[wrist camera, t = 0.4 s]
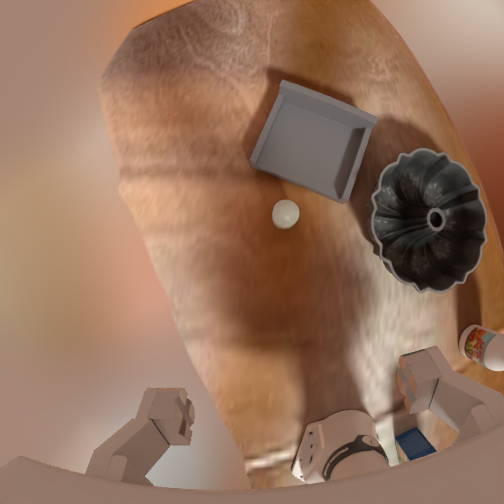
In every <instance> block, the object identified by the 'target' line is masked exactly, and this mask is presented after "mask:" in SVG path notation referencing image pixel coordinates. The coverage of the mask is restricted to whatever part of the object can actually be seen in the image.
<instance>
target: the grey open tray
mask: <svg viewBox="0 0 504 504" xmlns="http://www.w3.org/2000/svg"><path fill="white" fill-rule="evenodd" d="M377 121H378V117H376V116H374V115H371V114H369V113H367V112H365V111H363V110H360V109H358V108H356V107H354V106H351V105H349V104H347V103H344V102H342V101H339V100H337V99H334V98H332V97H329V96H327V95H324V94H322V93H319V92H317V91H314V90H311V89H308V88H306V87H303V86H300V85H297V84H294V83H291V82H289V81H286V80H283V79H282V81H281V83H280V85H279V94H278V96H277V99H276V101H275V103H274V105H273V107H272V110H271V112H270V114H269V116H268V119H267V121H266V123H265V125H264V128H263V130H262V132H261V134H260V137H259V139H258V141H257V144H256V146H255V148H254V150H253V153H252V155H251V157H250V160H249V161H250V165H251V167H252V168H254V169H257V170H260V171H262V172H265V173H268V174H270V175H273V176H275V177H278V178H280V179H283V180H286V181H288V182H291V183H293V184H296V185H298V186H301V187H303V188H305V189H308V190H310V191H313V192H315V193H318V194H320V195H322V196H325V197H327V198H329V199H332V200H334V201H336V202H339V203H341V204H343V203H345V202H346V201H348V200H349V197H350V194H351V191H352V188H353V186H354V183H355V180H356V177H357V174H358V171H359V168H360V165H361V162H362V159H363V156H364V153H365V150H366V147H367V144H368V141H369V137H370V134H371V131H372V129H373V128H374V127H375V126H376V124H377Z"/></svg>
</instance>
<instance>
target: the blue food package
mask: <svg viewBox="0 0 504 504" xmlns="http://www.w3.org/2000/svg"><path fill="white" fill-rule="evenodd" d="M395 441H396V448H397V451H398V458H399V463H400V464H402V463H405V462H409V461H412V460H415V459H418V458H421V457H424V456H427V455H429V454H432V453H435V452H437V451H436V450H435V448H434V447H433V446H432V445H431V444H430V442H429V441H428V440H427V439H426V438H425V436H424V435H423V434H422V433H421V431H420V430H419V429H418V428H417V427H416V428H414V429H412V430H410V431H408V432H406V433H404V434H402V435H400V436H398V437H396V438H395Z"/></svg>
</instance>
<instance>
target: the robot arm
mask: <svg viewBox="0 0 504 504" xmlns="http://www.w3.org/2000/svg"><path fill="white" fill-rule="evenodd" d="M399 365H400V369H399V370H398V371H397V385H398V389H399V391H400V394H402V395H404V396H405V399H404V404H405V406H406V408H407V411H408V413H409V414H413V413H417V412H420V411H423V410H427V409H429V411H431V412H432V413H433V414H435V415H436V416H438V417H439V418H440V419H442V420H443V421H444V422H446V423H447V424H448V425H450V426H451V427H452V428H454V429H455V430H457V431H458V432H459V434H458V436H457V438H456V440H455V441H454V443H453V445H452V446H450V447H448V448H445V449H443V450H440V451H438V452H435V453H432V454H429V455H427V456H424V457H421V458H418V459H415V460H412V461H409V462H405V463H402V464H399V465H395V466H392V467H390V466H389V464H388V458H387V456H386V454H385V452H384V450H383V448H382V446H381V445H380V440H379V438H378V437H377V434H376V429H375V424H374V421H373V419H372V418H371V417H370V416H369V415H368V414H366V413H364V412H362V411H358V410H345V411H341V412H337V413H335V414H333V415H331V416H329V417H327V418H326V419H324V420H322V421H317V422H313V423H310V424H308V425H307V427H306V430H305V433H304V436H303V439H302V442H301V445H300V447H299V450H298V453H297V456H296V459H295V462H294V464H293V467H292V474H293V475H294V476H295V477H296V478H298V479H300V480H302V481H304V482H306V483H307V484H305V485H297V486H288V487H278V488H265V489H247V490H196V489H178V488H165V487H156V486H154V485H153V484H152V483H151V482H150V481H149V480H148V479H147V478H146V477H145V475H146V474H147V473H148V471H149V470H150V469H151V468H152V467H153V465H155V463H156V462H157V461H158V460H159V459H160V458H161V456H162V455H163V454H164V453H165V452H166V450H167V449H168V448H169V447H170V446H169V445H190V442H191V436H192V431H191V429H190V426H191V425H192V424H193V423H194V419H195V412H194V407H193V404H192V402H191V401H190V400H189V399H187V392H186V390H185V388H147V389H146V391H145V393H144V395H143V398H142V401H141V404H140V407H139V410H138V413H137V416H136V419H131V420H130V421H129V422H128V423H127V424H126V425H124V426H123V427H122V428H121V429H120V430H118V431H117V432H116V433H115V434H114V435H112V436H111V437H110V438H109V439H107V440H106V441H105V442H104V443H103V444H101V445H100V446H99V447H98V448H97V449H95V450H94V452H93V454H92V457H91V460H90V462H89V465H88V468H87V471H86V474H81V473H77V472H73V471H69V470H66V469H62V468H59V467H55V466H52V465H48V464H45V463H42V462H39V461H36V460H33V459H30V458H27V457H23V456H19V457H17V458H15V459H13V460H11V461H10V462H9V463H7V464H6V465H4V466H3V467H2V468H0V504H504V396H503V395H502V393H499V392H497V391H495V390H493V389H491V388H489V387H487V386H485V385H483V384H481V383H479V382H477V381H475V380H473V379H471V378H469V377H467V376H465V375H463V374H461V373H459V372H456V373H454V372H453V370H452V368H451V367H450V365H449V364H448V362H447V360H446V359H445V357H444V356H443V354H442V353H441V351H440V349H439V348H438V347H437V346H433V347H429V348H426V349H422V350H419V351H415V352H412V353H408V354H405V355H401V356H400V358H399ZM310 432H312V433H310ZM301 475H303V476H301Z"/></svg>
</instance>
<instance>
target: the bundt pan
mask: <svg viewBox="0 0 504 504" xmlns="http://www.w3.org/2000/svg"><path fill="white" fill-rule="evenodd" d="M370 198H371V199H370V200H369V201H368V202H367V207H368V209H369V212H370V215H369V217H368V220H367V231H368V234H369V236H370V238H371V239H372V241H373V242H374V250H373V252H374V254H376V255H377V256H379V258H380V259H381V260H383V263H384V265H385V267H386V269H387V270H388V271H389V272H390V273H392V274H393V276H394V277H395V278H396V279H397V280H398V281H400V282H401V283H403V284H406V285H412V286H413V287H415V289H416V290H417V291H418V292H419V293H423V292H425V291H428V290H430V291H432V292H435V293H445V292H447V291H449V290H451V289H452V288H453V287H454V286H455V285H456V284H464V282H465V280H466V278H467V275H468V274H469V273H471V272H473V271H474V270H475V269H476V267H477V266H478V264H479V262H480V260H481V256H482V247H483V246H484V244H485V243H486V242H487V236H486V232H485V229H486V225H487V212H486V208H485V205H484V203H483V201H482V200H481V197H480V188H479V187H478V186H477V185H476V184H475V183H473V180H472V178H471V175H470V174H469V172H468V170H467V169H466V168H465V167H464V166H463V165H462V164H461V163H459V162H457V161H455V160H452V159H451V158H450V157H449V156H448V154H447V153H446V152H440V153H436V152H435V151H433V150H431V149H428V148H417V149H415V150H413V151H412V152H411V153H409V154H408V153H399V154H398V156H397V159H396V161H395V162H393V163H390V164H389V165H387V166H386V167H385V168H384V169H383V170H382V171H381V173H380V175H379V178H378V181H377V183H376V185H375V187H374V193H373V194H372V195H371V197H370Z"/></svg>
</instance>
